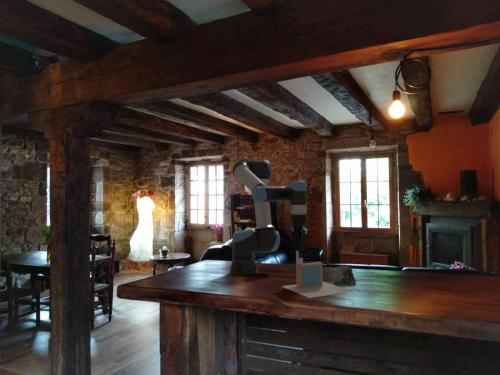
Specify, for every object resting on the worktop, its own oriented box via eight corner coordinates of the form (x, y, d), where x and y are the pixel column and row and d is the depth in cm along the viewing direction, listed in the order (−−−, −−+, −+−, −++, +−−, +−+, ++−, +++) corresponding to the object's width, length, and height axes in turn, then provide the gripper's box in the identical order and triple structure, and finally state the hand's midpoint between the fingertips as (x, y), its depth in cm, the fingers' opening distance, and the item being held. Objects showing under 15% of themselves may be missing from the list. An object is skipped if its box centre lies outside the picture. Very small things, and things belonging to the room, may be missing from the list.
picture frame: (296, 287, 162) (295, 264, 162) (318, 284, 167) (318, 262, 168) (300, 288, 159) (299, 265, 160) (322, 285, 164) (322, 263, 165)
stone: (356, 263, 170) (334, 261, 173) (355, 280, 162) (332, 278, 166) (356, 276, 176) (335, 274, 179) (356, 293, 168) (333, 291, 171)
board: (281, 288, 164) (281, 286, 164) (322, 283, 173) (321, 281, 173) (309, 300, 144) (309, 297, 144) (353, 294, 153) (353, 291, 153)
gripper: (284, 213, 176) (285, 263, 175) (299, 214, 164) (300, 267, 163) (297, 213, 179) (298, 261, 178) (313, 214, 167) (314, 266, 166)
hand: (299, 264), depth 171 cm, fingers closed
